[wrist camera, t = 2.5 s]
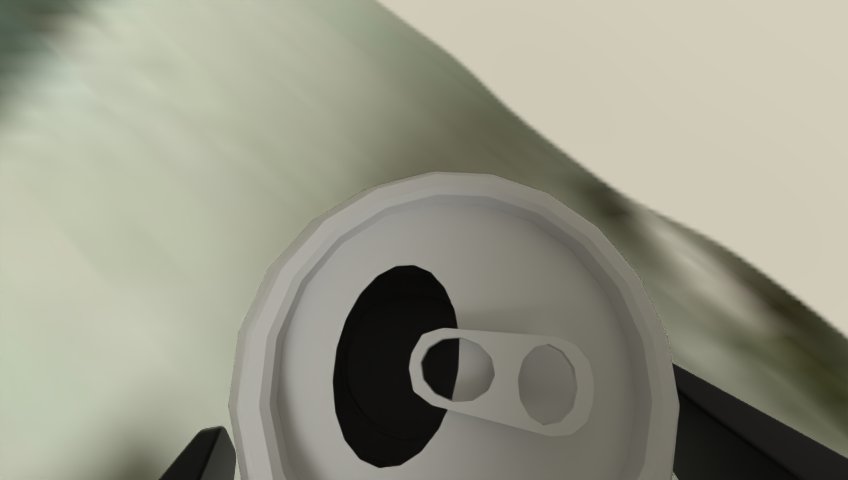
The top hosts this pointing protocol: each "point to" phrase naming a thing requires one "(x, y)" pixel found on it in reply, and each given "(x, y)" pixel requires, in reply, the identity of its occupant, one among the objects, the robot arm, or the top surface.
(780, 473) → the robot arm
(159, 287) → the top surface
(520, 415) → the can
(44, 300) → the top surface
